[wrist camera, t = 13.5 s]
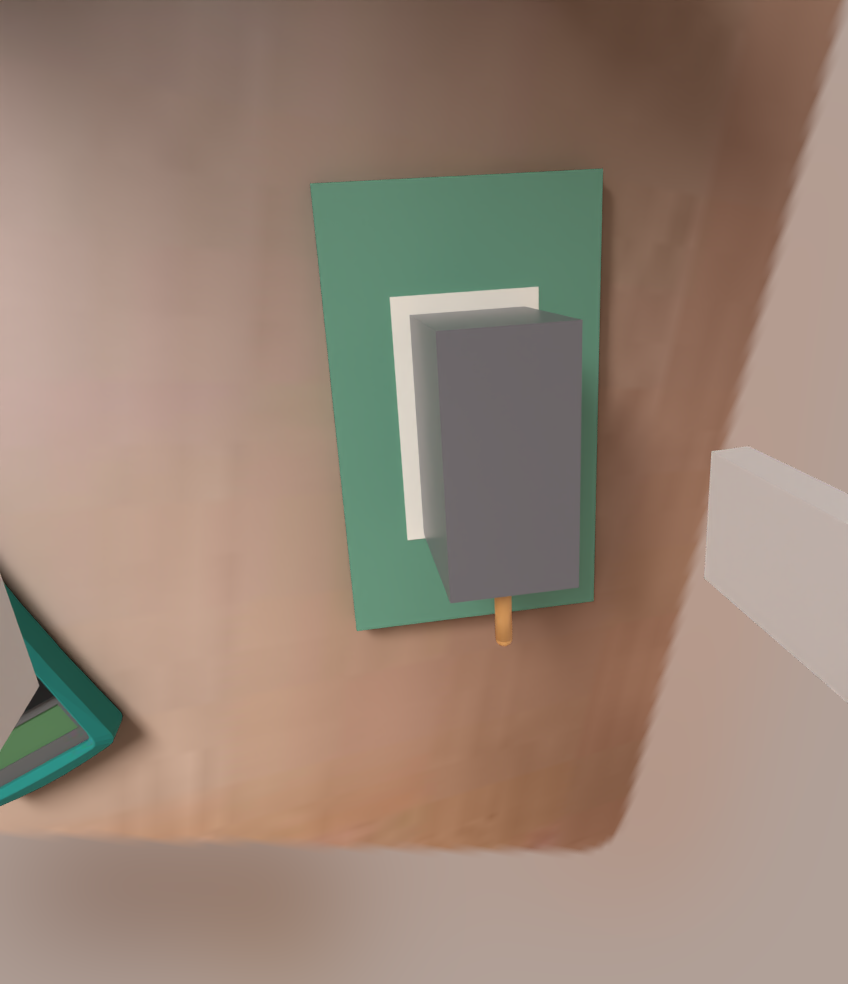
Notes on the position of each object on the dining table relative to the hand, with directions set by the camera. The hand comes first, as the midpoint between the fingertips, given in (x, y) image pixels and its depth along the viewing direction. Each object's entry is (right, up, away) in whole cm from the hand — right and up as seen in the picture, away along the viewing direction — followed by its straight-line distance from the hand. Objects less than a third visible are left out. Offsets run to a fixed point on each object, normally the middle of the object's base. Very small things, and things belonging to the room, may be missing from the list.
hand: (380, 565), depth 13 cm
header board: (+3, +5, +19) cm, 20 cm away
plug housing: (+3, +3, +19) cm, 19 cm away
